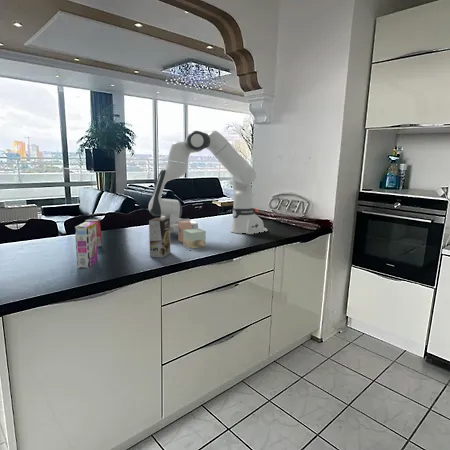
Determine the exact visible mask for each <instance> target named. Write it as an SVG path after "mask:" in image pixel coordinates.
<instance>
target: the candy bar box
mask: <svg viewBox="0 0 450 450" xmlns="http://www.w3.org/2000/svg"><path fill="white" fill-rule="evenodd" d="M74 233H75V251H76V252H75V253H76V268H77V269H91V268H92V266H93V265H95V264H96V262H98V261H99V259H98V258H99V256H98V247H97V233H96V222H85V221H84V222H81V223H80V224H77V225H76V226H74Z"/></svg>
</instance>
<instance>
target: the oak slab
mask: <svg viewBox="0 0 450 450" xmlns="http://www.w3.org/2000/svg"><path fill="white" fill-rule="evenodd" d="M182 243H183V244H182V246H184V247H186V248H188V249H199V248H205V247H206V239H203V240H196V241H190V240H187V239H185V238H183V242H182Z"/></svg>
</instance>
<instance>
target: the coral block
mask: <svg viewBox="0 0 450 450" xmlns="http://www.w3.org/2000/svg"><path fill="white" fill-rule="evenodd" d="M178 228H180V229H181V232H178V233H177V234H178V237H177V238H178V239H177V240H178V241H179V243H180V242H181V243H183V238H184V237H183V230H187V229H191V222H189V221H180V222H178Z"/></svg>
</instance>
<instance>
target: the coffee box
mask: <svg viewBox="0 0 450 450" xmlns="http://www.w3.org/2000/svg"><path fill="white" fill-rule="evenodd" d="M148 224H149V225H148V227H149V228H148V229H149V230H148V232H149V233H148V235H149V236H148V237H149V238H148V239H149V257H150V258H151V257H152V258H160V259H162V258H165V257H166V256H168V255H169V254H170V253H171V233H170V218H160V217H155V218H152V219H149V220H148Z"/></svg>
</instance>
